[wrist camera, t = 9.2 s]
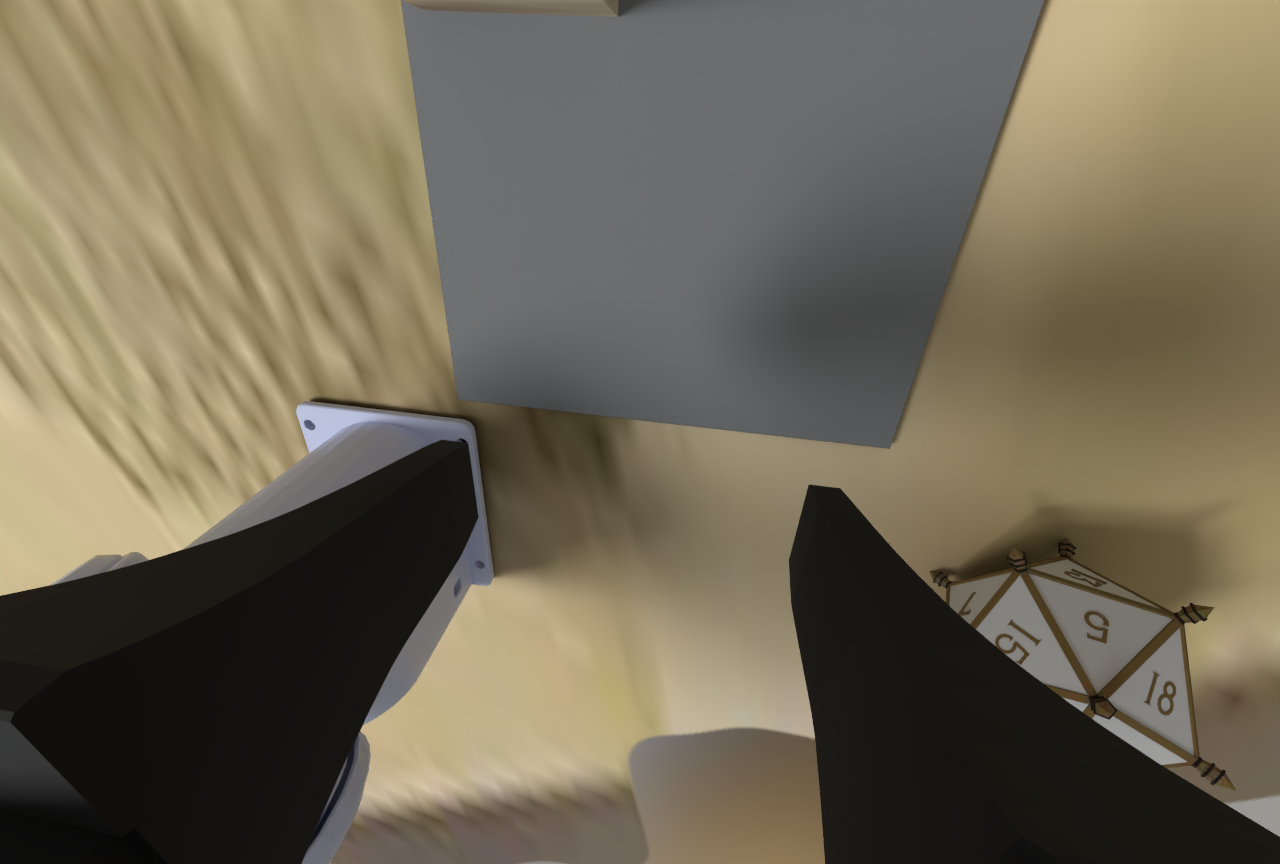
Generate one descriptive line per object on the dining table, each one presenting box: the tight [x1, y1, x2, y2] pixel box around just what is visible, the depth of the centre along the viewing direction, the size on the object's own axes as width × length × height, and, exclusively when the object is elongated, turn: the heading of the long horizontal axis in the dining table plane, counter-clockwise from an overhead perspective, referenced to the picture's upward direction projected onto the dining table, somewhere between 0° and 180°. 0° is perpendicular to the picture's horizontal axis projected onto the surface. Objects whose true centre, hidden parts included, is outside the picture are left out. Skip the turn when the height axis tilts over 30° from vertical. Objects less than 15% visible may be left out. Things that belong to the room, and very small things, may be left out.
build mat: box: [401, 0, 1044, 449], centre depth 15 cm, size 22×17×1 cm
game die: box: [930, 538, 1236, 790], centre depth 19 cm, size 9×8×10 cm
